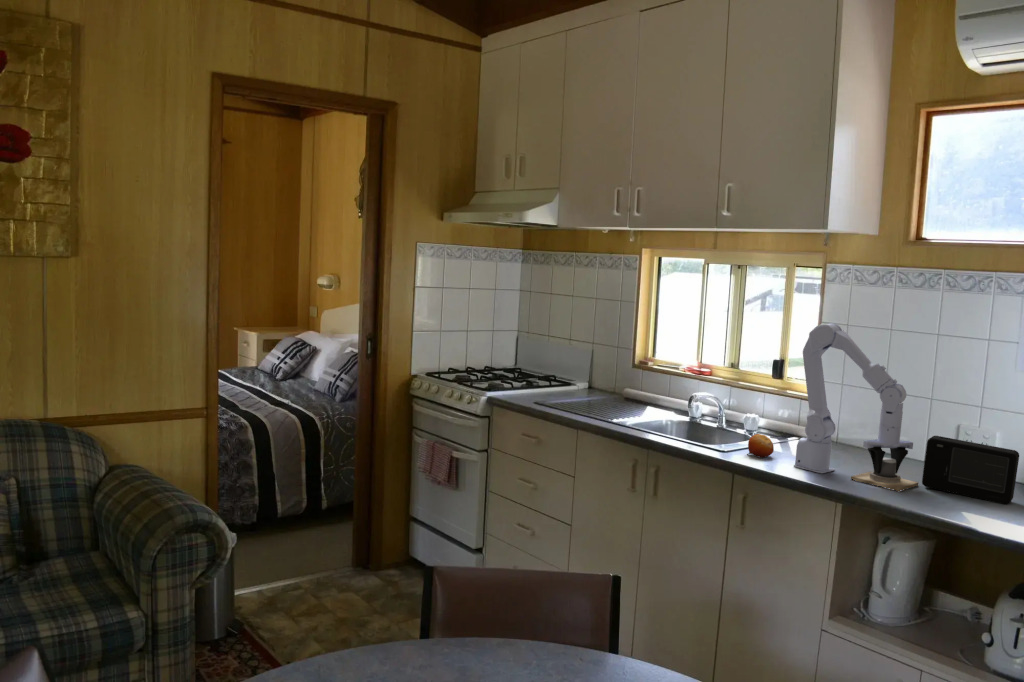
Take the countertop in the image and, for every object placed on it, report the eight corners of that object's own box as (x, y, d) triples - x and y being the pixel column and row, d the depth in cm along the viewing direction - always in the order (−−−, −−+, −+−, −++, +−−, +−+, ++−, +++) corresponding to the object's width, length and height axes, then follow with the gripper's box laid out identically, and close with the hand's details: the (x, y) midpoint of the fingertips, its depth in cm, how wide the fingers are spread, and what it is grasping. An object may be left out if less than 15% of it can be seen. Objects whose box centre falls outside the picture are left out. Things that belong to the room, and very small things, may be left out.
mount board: (850, 479, 245) (851, 471, 245) (870, 474, 253) (871, 466, 253) (898, 491, 235) (899, 483, 235) (918, 485, 243) (918, 477, 242)
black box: (1017, 500, 233) (1023, 446, 232) (1010, 507, 226) (1016, 451, 224) (929, 482, 248) (934, 432, 246) (919, 488, 240) (925, 436, 239)
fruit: (750, 446, 276) (763, 428, 273) (768, 463, 272) (781, 445, 268) (737, 449, 271) (750, 431, 267) (755, 466, 266) (769, 448, 263)
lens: (881, 481, 241) (883, 461, 240) (872, 476, 246) (875, 456, 246) (897, 482, 241) (900, 461, 241) (888, 477, 246) (890, 457, 246)
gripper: (875, 428, 237) (870, 476, 239) (921, 429, 240) (916, 476, 241) (861, 423, 244) (856, 469, 245) (906, 424, 247) (901, 470, 248)
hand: (885, 472), depth 244 cm, fingers closed on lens, 5 cm apart
